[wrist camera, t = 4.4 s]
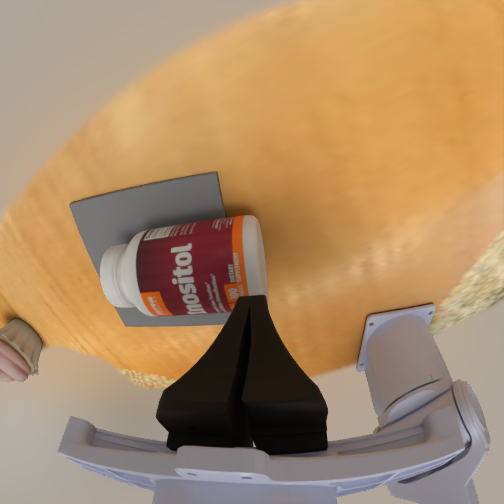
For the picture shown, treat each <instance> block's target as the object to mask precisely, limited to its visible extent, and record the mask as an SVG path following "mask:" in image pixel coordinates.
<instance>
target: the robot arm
mask: <svg viewBox="0 0 504 504" xmlns="http://www.w3.org/2000/svg"><path fill="white" fill-rule="evenodd" d="M435 309H436V307H435V305H434V304H429V305H424V306H419V307H414V308H408V309H403V310H397V311H392V312H386V313H379V314H373V315H370V316H368V317H367V320H366V325H365V330H364V335H363V340H362V345H361V350H360V354H359V359H358V363H357V367H356V368H357V371H365V373H366V377H367V381H368V384H369V388H370V392H371V397H372V401H373V406H374V409H375V412H376V413H377V415H378V416H379V417H378V422H379V426H378V427H377V428H376V429H375V430H374V432H373V434H369V435H365V436H360V437H354V438H349V439H343V440H337V441H329V442H328V441H327V432H326V431H327V425H326V420H327V415H328V408H327V405H326V402H325V400H324V398H323V396H322V394H321V392H320V390H319V388H318V386H317V385H316V384H315V383H314V382H313V381H312V380H311V379H310V378H309V377H308V376H307V375H306V374H305V373H304V371H303V370H302V369H301V368H300V367H299V365H298V364H297V363H296V361H295V360H294V359H293V358H292V356H291V355H290V353H289V352H288V350H287V349H286V347H285V345H284V344H283V342H282V340H281V338H280V337H279V335H278V333H277V331H276V328H275V326H274V324H273V321H272V319H271V316H270V314H269V310H268V305H267V298H266V296H265V295H252V296H239V297H238V299H237V301H236V303H235V306H234V308H233V310H232V312H231V314H230V316H229V318H228V320H227V321H226V323H225V325H224V327H223V329H222V330H221V332H220V333H219V335H218V336H217V338H216V339H215V341H214V342H213V344H212V345H211V346H210V348H209V349H208V350H207V351H206V353H205V354H204V355H203V356H202V357H201V358H200V360H199V361H198V362H197V363H196V364H195V365H194V366H193V367H192V368H191V369H190V370H189V371H188V372H186V373H185V374H184V375H183V376H182V377H181V378H180V379H178V380H177V381H176V382H175V383H173V384H172V385H171V386H169V387H168V388H166V389H165V390H164V391H163V394H162V396H161V399H160V401H159V405H158V409H157V413H156V418H157V420H158V421H159V422H160V424H162V426H163V427H165V429H166V430H167V431H168V432H169V434H168V439H167V442H163V441H156V440H150V439H144V438H138V437H133V436H128V435H123V434H118V433H114V432H110V431H105V430H101V429H98V428H95V426H93V425H92V424H91V423H90V422H88V421H86V420H83V419H79V418H76V417H72V416H71V417H70V419H69V421H68V424H67V427H66V429H65V432H64V435H63V438H62V441H61V443H60V446H59V449H58V453H60V454H61V455H62V456H64V457H66V458H67V459H69V460H71V461H72V462H74V463H76V464H77V465H79V466H81V467H83V468H84V469H87V470H90V471H92V472H95V473H98V474H101V475H103V476H106V477H109V478H112V479H115V480H118V481H121V482H124V483H128V484H131V485H134V486H138V487H141V488H145V489H149V490H152V491H155V492H154V498H153V504H337V500H336V497H339V496H344V495H349V494H353V493H358V492H362V491H366V490H370V489H374V488H377V487H381V486H384V485H387V486H388V489H389V491H390V493H391V495H392V496H394V497H397V498H400V499H404V500H408V501H412V502H416V503H419V504H479V501H478V498H477V494H476V490H475V487H474V484H473V480H472V477H473V475H474V474H475V472H476V471H477V469H478V468H479V466H480V465H481V463H482V462H483V460H484V459H485V457H486V455H487V454H488V451H489V444H490V435H489V432H488V429H487V427H486V422H485V418H484V414H483V411H482V409H481V406H480V404H479V402H478V399H477V397H476V395H475V393H474V392H473V390H472V388H471V386H470V385H469V384H468V383H467V382H466V381H461V380H457V381H455V382H453V381H452V378H451V376H450V374H449V371H448V369H447V367H446V364H445V362H444V360H443V358H442V355H441V353H440V351H439V349H438V347H437V345H436V343H435V341H434V338H433V336H432V334H431V332H430V330H429V325H430V323H431V320H432V317H433V315H434V312H435ZM253 442H254V444H255V446H256V447H253ZM466 446H467V447H466ZM465 447H466V448H465Z"/></svg>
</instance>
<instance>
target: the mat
mask: <svg viewBox="0 0 504 504" xmlns="http://www.w3.org/2000/svg"><path fill="white" fill-rule="evenodd" d="M69 206H70V209H71V211H72V214H73V217H74V219H75V222H76V225H77V227H78V230H79V232H80V235H81V237H82V239H83V242H84V244H85V246H86V249H87V251H88V253H89V256H90V258H91V260H92V262H93V264H94V267H95V269H96V271H97V273H98V275H99V277H100V266H101V261H102V258H103V255H104V253H105V252H106V251H107V249H109V248H110V247H112V246H117V245H121V244H129V243H130V241H131V240H132V239H133V237H134V236H136V235H137V234H138V233H140V232H142V231H146V230H151V229H157V228H163V227H169V226H175V225H182V224H188V223H194V222H201V221H207V220H214V219H221V218H226V215H225V210H224V205H223V200H222V195H221V189H220V184H219V179H218V174H217V172H210V173H204V174H198V175H192V176H186V177H181V178H175V179H170V180H165V181H160V182H155V183H150V184H145V185H140V186H136V187H131V188H127V189H122V190H118V191H114V192H110V193H106V194H102V195H98V196H94V197H90V198H86V199H82V200H79V201H75V202H72V203H71V204H69ZM114 307H115V309H116V310H117V312H118V314H119V316H120V318H121V319H122V321H123V323H124V325H125V326H128V327H158V326H200V325H222V324H225V323H226V321H227V320H228V318H229V316H230V314H231V312H226V313H212V314H196V315H179V316H149V315H146V314H144V313H142V312H141V311H140V310H139V309H138V308H137V307H136V306H135V307H132V308H119V307H116V306H114Z"/></svg>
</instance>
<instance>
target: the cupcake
mask: <svg viewBox="0 0 504 504" xmlns="http://www.w3.org/2000/svg"><path fill="white" fill-rule="evenodd" d="M41 349H42V341H41V339H40V337H39V336H38V334H37V333H36V332H35V331H34V330H33V329H32V328H31V327H30V326H29V325H28V324H27V323H25V322H24V321H22V320H20V319H14V320H12V321H10V322H9V323H8V324H7V325H6V326H5V327H4V328H2V329H0V381H3V382H10V381H13V380H16V381H19V382H24V381H25V380H26V379H27V378H28V375H29V374H30V375H32V376H33V375H34V374H37V375H38V361H39V356H40V352H41Z"/></svg>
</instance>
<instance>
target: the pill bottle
mask: <svg viewBox="0 0 504 504" xmlns="http://www.w3.org/2000/svg"><path fill="white" fill-rule="evenodd" d="M100 279H101V285H102V288H103V291H104V294H105V296H106V298H107V299H108V300H109V302H110V303H111V304H112V305H114V306H116V307H119V308H132V307H135V306H136V307H137V308H138V309H139V310H140V311H141V312H142V313H144V314H146V315H149V316H179V315H196V314H212V313H226V312H232V310H233V308H234V306H235V303H236V301H237V299H238V297H239V296H252V295H265V296H266V298H267V302H268V278H267V268H266V259H265V251H264V244H263V237H262V232H261V228H260V224H259V221H258V220H257V218H256V217H254V216H252V215H242V216H235V217H228V218H221V219H214V220H207V221H201V222H194V223H188V224H182V225H175V226H169V227H163V228H157V229H151V230H146V231H142V232H140V233H138V234H137V235H136V236H134V237H133V239H132V240H131V241H130V243H129V244H121V245H117V246H112V247H110V248H109V249H107V251H106V252H105V253H104V255H103V258H102V261H101V266H100Z"/></svg>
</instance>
